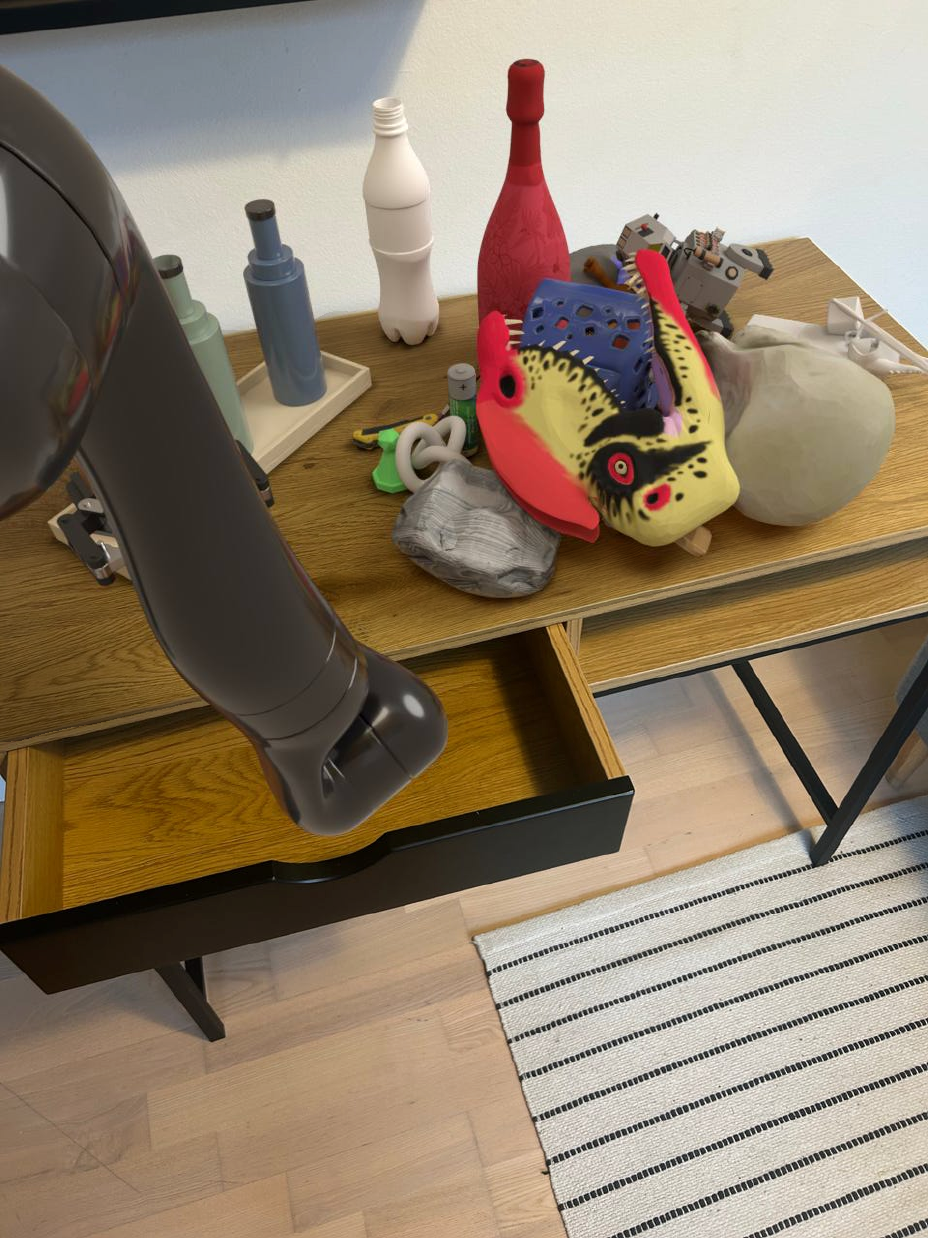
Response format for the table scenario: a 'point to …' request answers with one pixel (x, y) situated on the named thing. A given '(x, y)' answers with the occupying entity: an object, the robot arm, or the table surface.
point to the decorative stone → (475, 534)
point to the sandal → (689, 539)
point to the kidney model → (605, 260)
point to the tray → (278, 419)
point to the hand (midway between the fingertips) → (130, 458)
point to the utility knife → (371, 435)
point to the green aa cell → (448, 408)
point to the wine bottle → (521, 213)
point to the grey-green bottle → (206, 346)
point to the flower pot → (596, 335)
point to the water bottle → (400, 228)
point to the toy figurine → (605, 279)
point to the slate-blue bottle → (282, 311)
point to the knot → (428, 448)
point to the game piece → (388, 464)
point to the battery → (464, 403)
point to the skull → (796, 424)
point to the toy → (608, 428)
